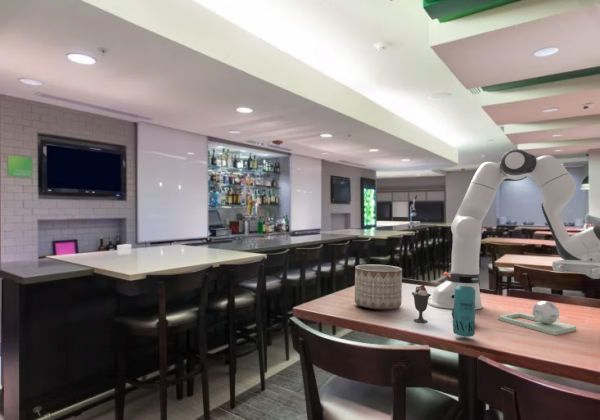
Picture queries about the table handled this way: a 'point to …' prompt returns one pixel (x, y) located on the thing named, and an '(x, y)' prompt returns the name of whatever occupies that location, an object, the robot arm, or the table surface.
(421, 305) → the sundae
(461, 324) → the beverage bottle
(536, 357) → the table surface
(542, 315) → the steel ball
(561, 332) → the hole plate
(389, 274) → the planter
